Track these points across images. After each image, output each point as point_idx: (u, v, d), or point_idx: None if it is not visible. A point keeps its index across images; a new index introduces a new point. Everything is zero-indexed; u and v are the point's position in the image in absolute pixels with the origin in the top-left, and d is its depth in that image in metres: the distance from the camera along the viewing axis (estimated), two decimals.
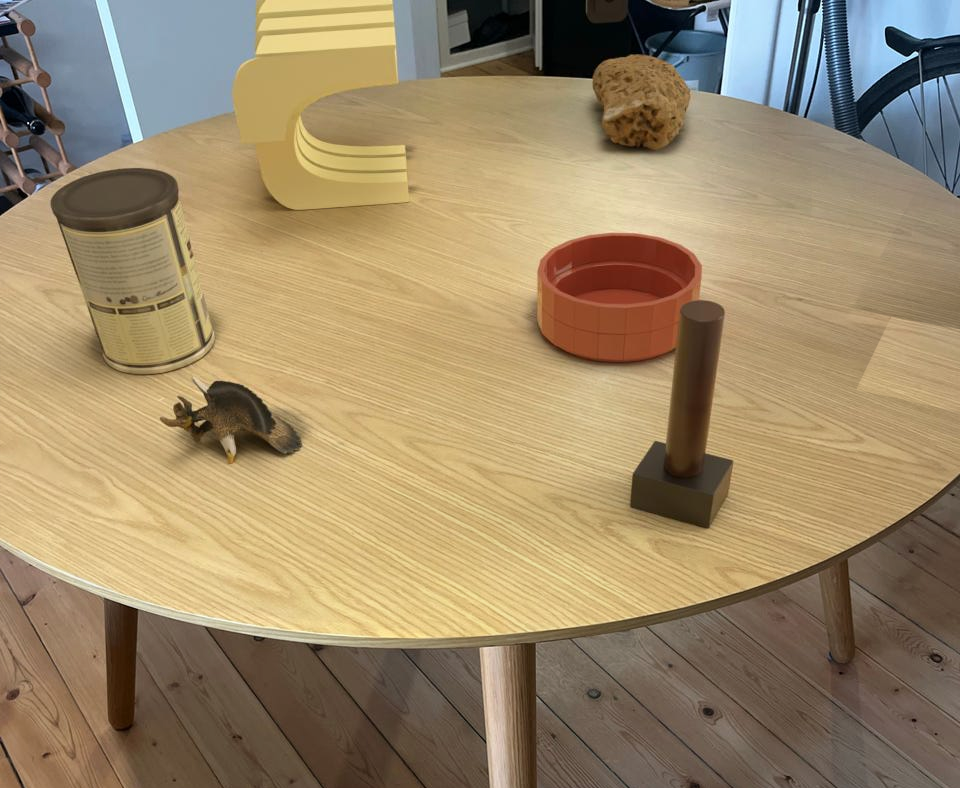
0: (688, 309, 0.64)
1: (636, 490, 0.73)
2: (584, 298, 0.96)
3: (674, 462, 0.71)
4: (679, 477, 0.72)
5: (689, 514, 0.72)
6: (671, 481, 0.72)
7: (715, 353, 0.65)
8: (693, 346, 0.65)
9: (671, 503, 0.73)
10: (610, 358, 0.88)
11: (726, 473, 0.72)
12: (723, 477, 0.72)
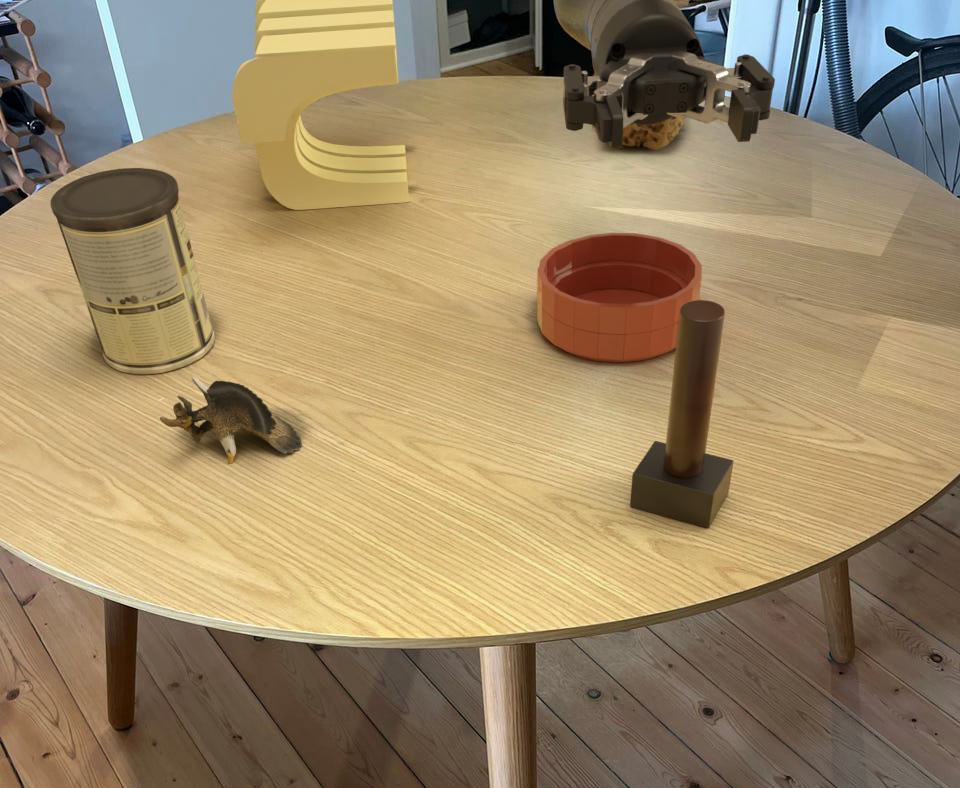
0: (688, 309, 0.64)
1: (636, 490, 0.73)
2: (584, 298, 0.96)
3: (674, 462, 0.71)
4: (679, 477, 0.72)
5: (689, 514, 0.72)
6: (671, 481, 0.72)
7: (715, 353, 0.65)
8: (693, 346, 0.65)
9: (671, 503, 0.73)
10: (610, 358, 0.88)
11: (726, 473, 0.72)
12: (723, 477, 0.72)
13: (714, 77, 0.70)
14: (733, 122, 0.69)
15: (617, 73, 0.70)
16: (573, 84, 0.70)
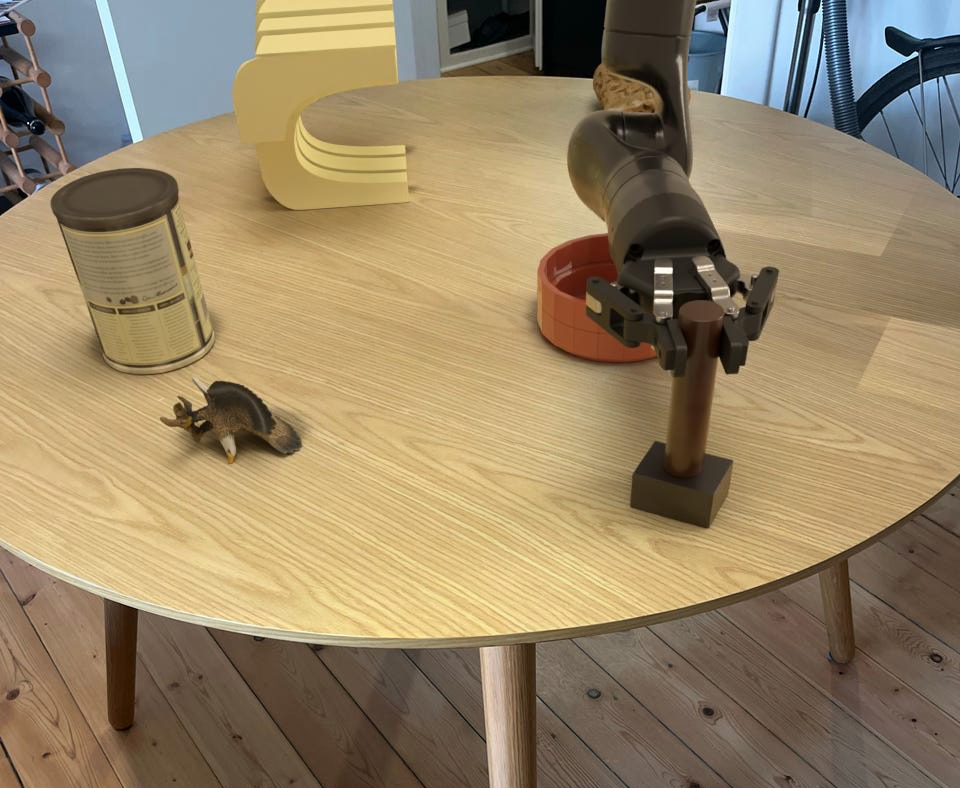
0: (688, 309, 0.64)
1: (636, 490, 0.73)
2: (584, 298, 0.96)
3: (674, 462, 0.71)
4: (679, 477, 0.72)
5: (689, 514, 0.72)
6: (671, 481, 0.72)
7: (715, 353, 0.65)
8: (693, 346, 0.65)
9: (671, 503, 0.73)
10: (610, 358, 0.88)
11: (726, 473, 0.72)
12: (723, 477, 0.72)
13: (711, 294, 0.67)
14: (721, 350, 0.66)
15: (660, 288, 0.67)
16: (623, 302, 0.67)
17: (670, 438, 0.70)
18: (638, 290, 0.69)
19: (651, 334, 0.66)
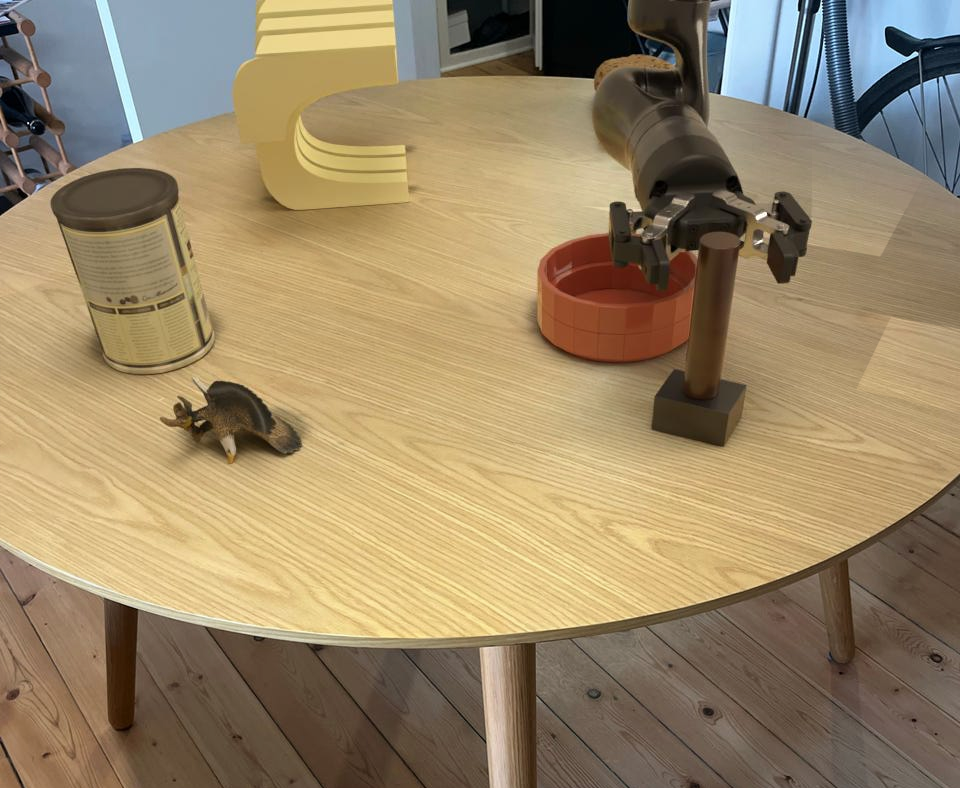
0: (707, 239, 0.71)
1: (657, 412, 0.80)
2: (584, 298, 0.96)
3: (692, 384, 0.78)
4: (696, 399, 0.79)
5: (706, 433, 0.79)
6: (690, 403, 0.78)
7: (731, 280, 0.72)
8: (712, 273, 0.71)
9: (689, 423, 0.79)
10: (610, 358, 0.88)
11: (740, 396, 0.79)
12: (737, 399, 0.79)
13: (754, 218, 0.74)
14: (772, 263, 0.73)
15: (662, 215, 0.74)
16: (620, 225, 0.74)
17: (689, 362, 0.77)
18: None
19: (638, 254, 0.74)
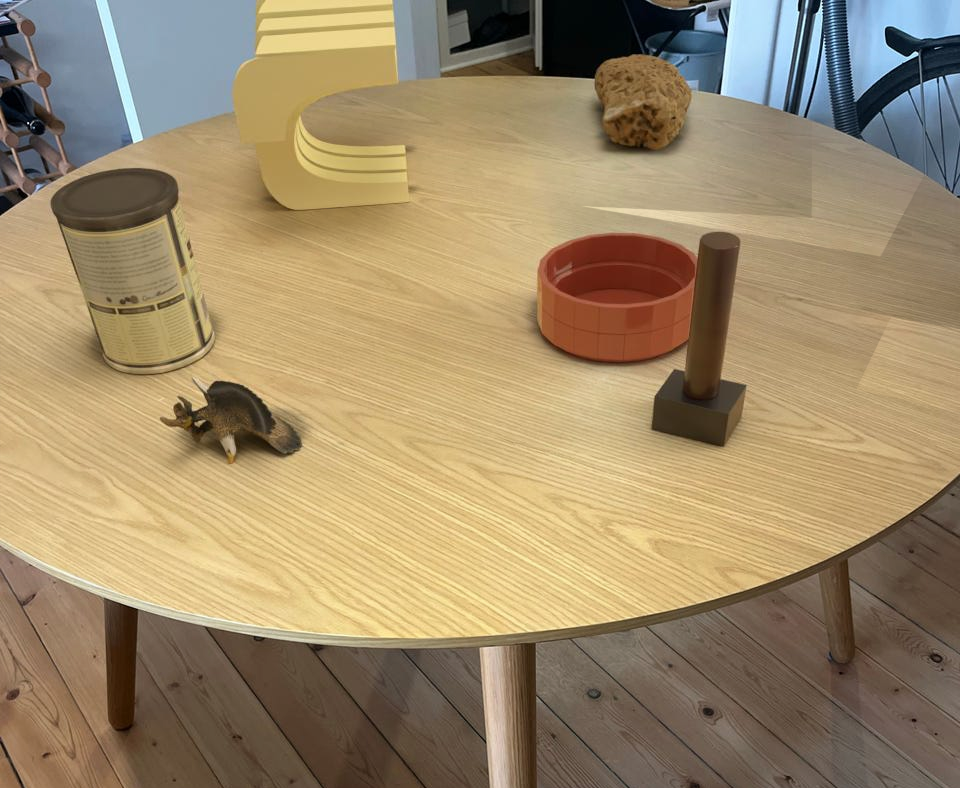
0: (707, 238, 0.71)
1: (657, 412, 0.80)
2: (584, 298, 0.96)
3: (692, 384, 0.78)
4: (696, 399, 0.79)
5: (706, 433, 0.79)
6: (690, 403, 0.78)
7: (731, 280, 0.72)
8: (712, 273, 0.71)
9: (689, 423, 0.79)
10: (610, 358, 0.88)
11: (740, 396, 0.79)
12: (737, 399, 0.79)
13: None
14: None
15: None
16: None
17: (689, 362, 0.77)
18: None
19: None
